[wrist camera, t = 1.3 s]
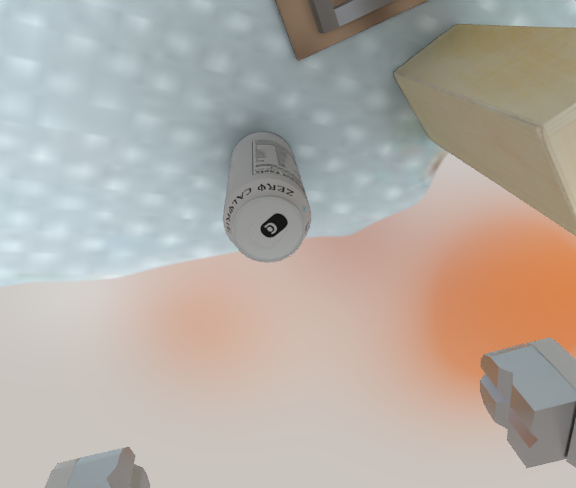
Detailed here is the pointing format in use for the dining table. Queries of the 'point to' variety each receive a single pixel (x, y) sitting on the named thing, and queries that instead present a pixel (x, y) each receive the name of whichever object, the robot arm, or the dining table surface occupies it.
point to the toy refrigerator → (503, 108)
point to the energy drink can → (265, 199)
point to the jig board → (333, 20)
